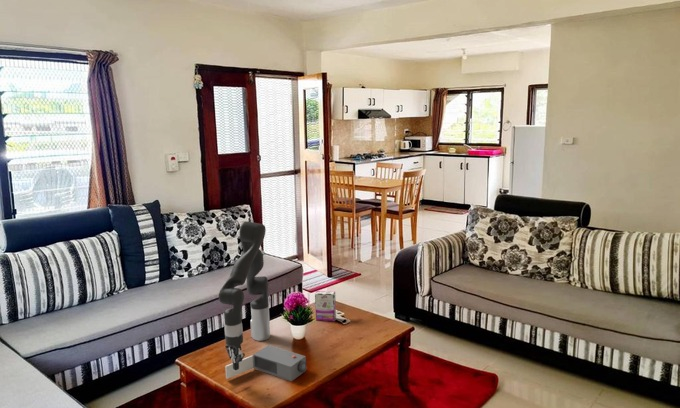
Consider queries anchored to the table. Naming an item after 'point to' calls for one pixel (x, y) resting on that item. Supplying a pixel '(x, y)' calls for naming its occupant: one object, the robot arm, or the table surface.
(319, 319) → the candy bar box
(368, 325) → the table surface
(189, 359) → the table surface
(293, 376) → the camera box
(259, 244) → the robot arm
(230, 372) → the side door
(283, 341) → the table surface
